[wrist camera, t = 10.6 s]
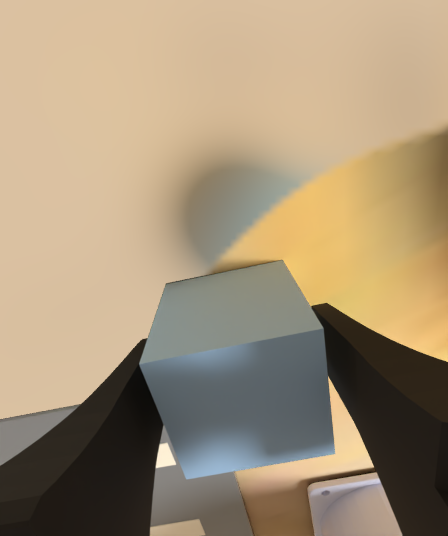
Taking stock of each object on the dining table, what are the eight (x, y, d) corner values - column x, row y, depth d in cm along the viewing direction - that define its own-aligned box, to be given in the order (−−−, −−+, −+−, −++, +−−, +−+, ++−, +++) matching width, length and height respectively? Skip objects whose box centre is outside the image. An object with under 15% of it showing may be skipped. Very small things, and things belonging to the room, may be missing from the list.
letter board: (206, 380, 15) (206, 384, 14) (258, 551, 21) (259, 555, 21) (-95, 437, 15) (-99, 441, 15) (42, 585, 22) (40, 590, 21)
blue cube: (282, 259, 12) (323, 328, 8) (295, 353, 14) (335, 453, 10) (166, 283, 13) (138, 364, 8) (194, 372, 14) (186, 479, 10)
